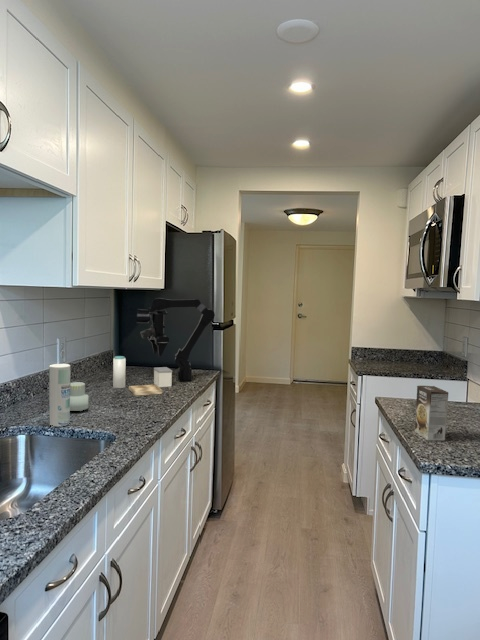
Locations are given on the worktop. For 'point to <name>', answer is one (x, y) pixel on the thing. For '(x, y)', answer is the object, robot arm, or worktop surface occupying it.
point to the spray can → (59, 394)
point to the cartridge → (119, 371)
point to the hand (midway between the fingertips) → (157, 354)
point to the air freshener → (78, 397)
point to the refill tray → (145, 390)
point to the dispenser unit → (162, 376)
